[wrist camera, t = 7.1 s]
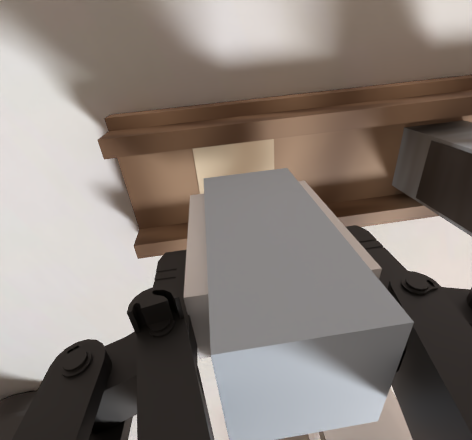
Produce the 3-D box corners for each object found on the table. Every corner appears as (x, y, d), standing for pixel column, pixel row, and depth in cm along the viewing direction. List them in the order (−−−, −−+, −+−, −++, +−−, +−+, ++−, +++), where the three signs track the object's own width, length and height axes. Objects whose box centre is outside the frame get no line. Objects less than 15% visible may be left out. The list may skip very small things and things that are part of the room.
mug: (316, 307, 27) (390, 460, 17) (367, 322, 29) (460, 466, 19) (266, 367, 31) (300, 520, 21) (313, 376, 33) (366, 520, 23)
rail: (148, 239, 21) (112, 369, 12) (110, 114, 16) (7, 177, 7) (470, 195, 22) (646, 281, 14) (518, 69, 18) (830, 77, 9)
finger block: (214, 247, 15) (231, 447, 7) (203, 178, 13) (210, 355, 5) (287, 236, 15) (379, 420, 7) (287, 167, 13) (416, 321, 5)
